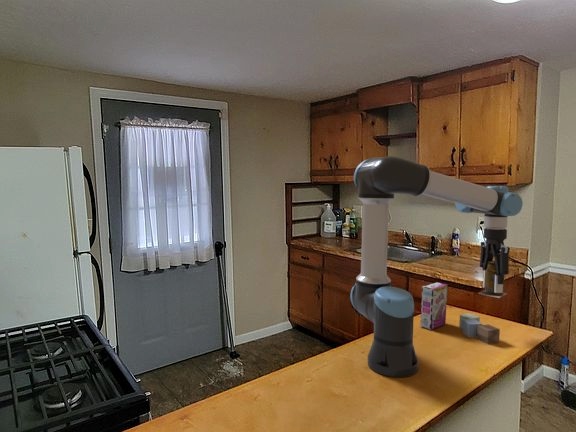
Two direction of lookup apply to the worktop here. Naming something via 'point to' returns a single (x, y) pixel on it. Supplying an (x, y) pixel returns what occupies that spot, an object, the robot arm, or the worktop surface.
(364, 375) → the worktop surface
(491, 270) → the condiment
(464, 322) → the slate block
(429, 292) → the candy bar box
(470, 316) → the sage block
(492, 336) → the walnut block
